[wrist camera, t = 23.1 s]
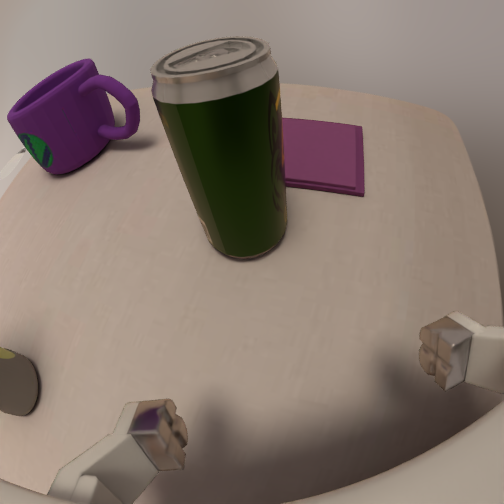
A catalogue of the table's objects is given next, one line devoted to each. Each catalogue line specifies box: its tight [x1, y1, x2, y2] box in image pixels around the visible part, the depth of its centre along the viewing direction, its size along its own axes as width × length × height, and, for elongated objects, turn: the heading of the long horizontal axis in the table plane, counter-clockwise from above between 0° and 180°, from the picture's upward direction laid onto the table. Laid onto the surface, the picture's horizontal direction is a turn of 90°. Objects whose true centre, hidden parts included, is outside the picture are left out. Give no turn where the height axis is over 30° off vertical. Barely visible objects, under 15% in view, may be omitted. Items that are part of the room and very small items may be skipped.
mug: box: [7, 59, 140, 174], centre depth 24 cm, size 17×11×10 cm, turn 72°
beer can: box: [150, 36, 287, 259], centre depth 15 cm, size 5×5×12 cm
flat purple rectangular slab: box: [282, 118, 364, 197], centre depth 24 cm, size 14×9×1 cm, turn 76°
